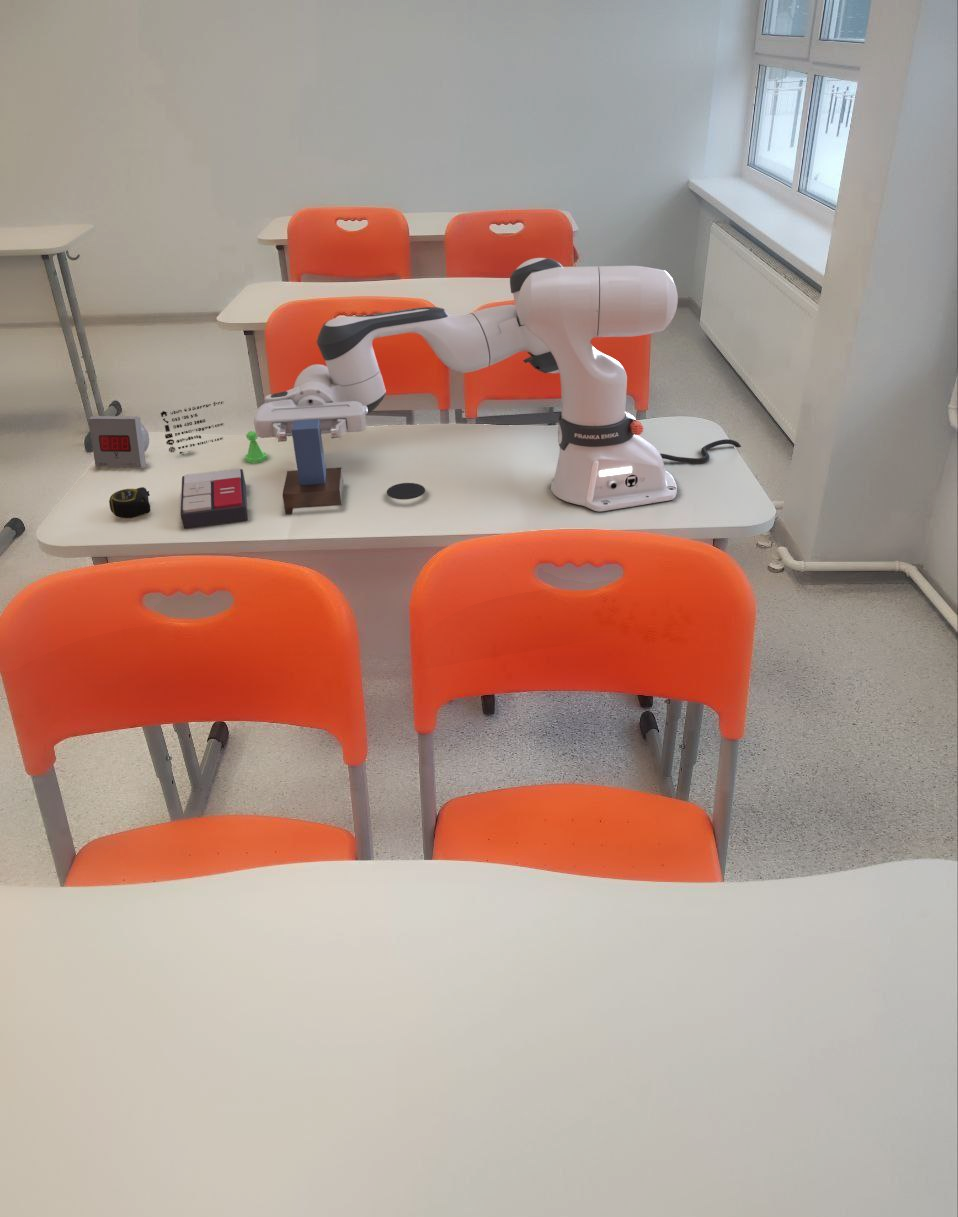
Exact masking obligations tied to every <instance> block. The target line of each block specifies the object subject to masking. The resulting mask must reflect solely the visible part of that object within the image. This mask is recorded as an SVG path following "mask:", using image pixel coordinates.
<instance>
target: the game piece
mask: <svg viewBox="0 0 958 1217" xmlns="http://www.w3.org/2000/svg"><path fill="white" fill-rule="evenodd" d="M246 438H247V441H249V446H248V450H247V454H245V462H246V463H249V464H258V463H259V464H260V463H262V462H264V461H267V453H266V452H264V451H263V450H262V448H261V446H260V445H259V443H258V442H257V439H258V438H259V437H258V436H257V435H256V432H255V430H249V431H248V432H247V433H246Z"/></svg>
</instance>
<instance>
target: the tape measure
mask: <svg viewBox="0 0 958 1217" xmlns="http://www.w3.org/2000/svg"><path fill="white" fill-rule="evenodd" d="M150 495H151V494H150V490H147V488H146V487H144V486H141V487H137V488H124V489H120V490H117V491H115V492H113V493H112V494H111V496H110V497H109V500H108V503H109V509H110V511H111V513H112V514H113V515H114V516H115V517H117V518H120V519H133V518H134V519H135V518H137V517H140V516H145V515H148V514H149V513H150V512H151V505H150V500H149V497H150Z"/></svg>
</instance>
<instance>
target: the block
mask: <svg viewBox="0 0 958 1217" xmlns="http://www.w3.org/2000/svg"><path fill="white" fill-rule="evenodd" d="M291 437H292V443H293V449H294V456H295V463H296V468H297V469H296V470H297V471H298V478H299V484H300V485H315V484H325V480H326V460H325V453H324V445H323V437H322V434H321V428H320V421H319V419H310V420H294V421H293V426H292V436H291Z"/></svg>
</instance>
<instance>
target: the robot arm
mask: <svg viewBox="0 0 958 1217" xmlns="http://www.w3.org/2000/svg"><path fill="white" fill-rule="evenodd" d="M509 288H510V293H511V294H512V296H513V302H514V304H503V305H497V306H492V307H491V306H490V307H486V308H483V309H478V310H476V311H471V312H470V313H465V314H461V315H456V314H450V313H449V312H447V310H445V309H444V308H442V307H438V306H437V307H436V306H423V307H416V308H407V309H399V310H393V311H387V312H379V313H372V314H366V315H365V314H363V315H353V316H352V315H351V316H339V317H334V318H332V319H330V320H328V321H325V322H324V323H323V324H322V326H321V328H320V331H319V333H318V336H317V338H316V345H317V347H318V349H319V351H320V354H321V357H322V359H323V360H324V362H325V365H324V364H319V363H317V364H311V365H309V366H307V367H306V368H304V369H303V370H302V371H300V373H299V374H298V376H297V377H296V379H295V382H294V384H293V388H290V389H288V390H285V391H280V392H276V393H271V394H267V395H266V396H265V397H264V403H263V404H260V406H259V407H258V409H257V410H256V413H255V415H254V417H253V424H254V431H255V432H256V435H257V436H258V438H260V439H265V438H276V439H277V442H278V443H282V442H287V441H288V437H293V436H292V426H293V421H294V420H310V419H319V421H320V428H321V435H329V434H330V437H331V439H341V435H342V436H343V435H344V434H347V433H360V432H363V431H365V430H366V429H367V421H366V415H368V414H370V413H371V412H373V411H374V410H376V408H377V407H379V405H380V404H381V403H382V402H383V400H384V398H385V396H386V393H387V390H386V385H385V382H384V378H383V374H382V372H381V368H380V367H379V363H378V360H377V357H376V353H375V350H374V346H373V341H374V340H376V339H379V338H384V337H390V336H397V335H404V334H417V335H419V336H421V338H423V340H424V341H425V342H426V344H427V345H428V346H429V347H430V349H431V350H432V352H433V353H434V354H435V356H436V357H437V359H439V361H440V362H441V363H443V364H444V365H445V366H446V367H447V368H448V369H450V370H452V371H453V372H456V373H460V374H468V373H473V372H476V371H480V370H482V369H486V368H488V367H491V366H493V365H496V364H498V363H500V362H503V361H505V360H507V359H509V358H510V357H513V356H514V355H516V354H519V353H522V352H525V353H527V354H528V355H529V356H528V357H526V358H524V359H523V360H522V361H523V362H524V363H525V364H527V363H529V364H530V365H531V366H532V367H533V369H535V370H537V371H539V372H540V373H543V374H559V380H560V392H561V395H560V396H561V412H560V413H559V414H558V423H557V444H558V446H559V449H558V456H557V462H556V468H555V472H554V476H553V480H552V483H551V486H550V490H551V492H552V493H553V495H554V496H555V497H556V498H558V499H560V500H562V501H564V502H567V503H570V504H574V505H578V506H581V507H585V508H587V509H590V510H591V511H594V512H600V513H601V512H607V511H608V512H609V511H613V510H619V509H624V508H633V507H638V506H644V505H650V504H656V503H657V504H658V503H662V502H667V501H672V500H674V499H676V497H677V495H678V485H677V482H676V481H675V480H676V479H674V477H673V475H672V474H671V473H670V472H668V471H667V470H666V468H665V462H664V460H668V461H673V462H678V463H687V464H688V463H689V464H690V463H691V464H701V463H706V462H708V461H709V460H710V454H709V452H708V450H710V449H712V448H715V447H718V446H722V445H732V446H734V447H735V448H741V447H742V445H741V444H740V443H739V442H738V441H736V440H734V439H728V438H725V439H719V440H715V441H712V442H710V443H707V444H705V445H704V446H703V447H701V450H700V451H701V454H702V456H703V457H684V456H675V455H672V454H668V453H667V454H666V453H660V452H659V450H658V449H657V448H656V447H655V446H654V445H653V444H652V443H650V442H649V441H647V440H646V439H644V438H643V437H642V436H640V435H642V433H644V426H643V424H642V423H641V421H639V420H637V418H636V417H635V416H634V415H633V414H631V412H629V410H626V409H627V408H626V406H627V390H628V376H627V375H628V374H627V372H626V370H625V368H624V366H623V365H622V364H621V363H620V362H619V361H618V360H617V359H615V358H614V357H612V356H610V355H608V354H605V353H604V352H602V351H600V350H599V349H596V348H595V347H594V346H593V344H592V342H591V341H592V339H594V338H633V337H640V336H645V335H651V334H655V333H660V332H663V331H664V330H665V329H667V327H668V326H669V325H670V324H671V323H672V321H673V319H674V317H675V315H676V312H677V308H678V302H679V295H678V289H677V286H676V284H675V282H674V279H673V277H672V276H671V275H670V274H669V273H668V271H666V270H665V269H659V268H656V267H655V268H653V267H647V266H644V265H643V266H641V265H596V266H595V265H593V266H591V265H590V266H563V265H562V264H561V263H560V262H559V261H557V260H556V259H555V260H554V259H553V258H550V257H548V258H546V257H535V258H530V259H528V260H525V261H523V263H521V264H520V265H519V266H517V268H516V269H514V270H513V271H512V273H511V274H510V276H509Z"/></svg>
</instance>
